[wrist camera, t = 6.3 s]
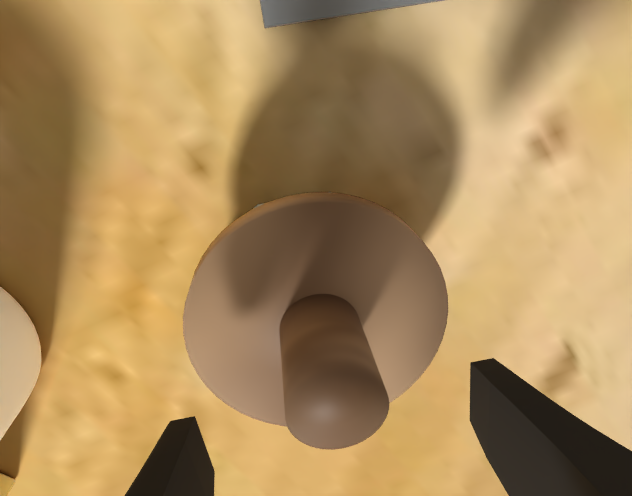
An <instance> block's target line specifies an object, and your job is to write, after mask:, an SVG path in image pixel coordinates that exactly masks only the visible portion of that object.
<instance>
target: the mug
mask: <svg viewBox="0 0 632 496" xmlns="http://www.w3.org/2000/svg"><path fill="white" fill-rule="evenodd" d="M41 361H42V360H41V346H40V341H39V337H38V334H37V332H36V329H35V326H34V325H33V323H32V321H31V319H30V318H29V316H28V315H27V313H26V312H25V311H24V309H23V308H22V307H21V305H20V304H19V303H18V302H17V301H16V300H15V299H14V298H13V297H12V296H11V295H10V294H9V293H8V292H6V291H5V290H4V289H3V288H2V287H0V440H1V439H2V437H3V436H4V434H5V433H6V431H7V430H8V428H9V427H10V425H11V424H12V422H13V421H14V420H15V418H16V417H17V415H18V414H19V412H20V411H21V409H22V407H23V406H24V404H25V403H26V401H27V399H28V397H29V396H30V394H31V392H32V390H33V388H34V386H35V384H36V382H37V379H38V376H39V373H40V369H41Z"/></svg>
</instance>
